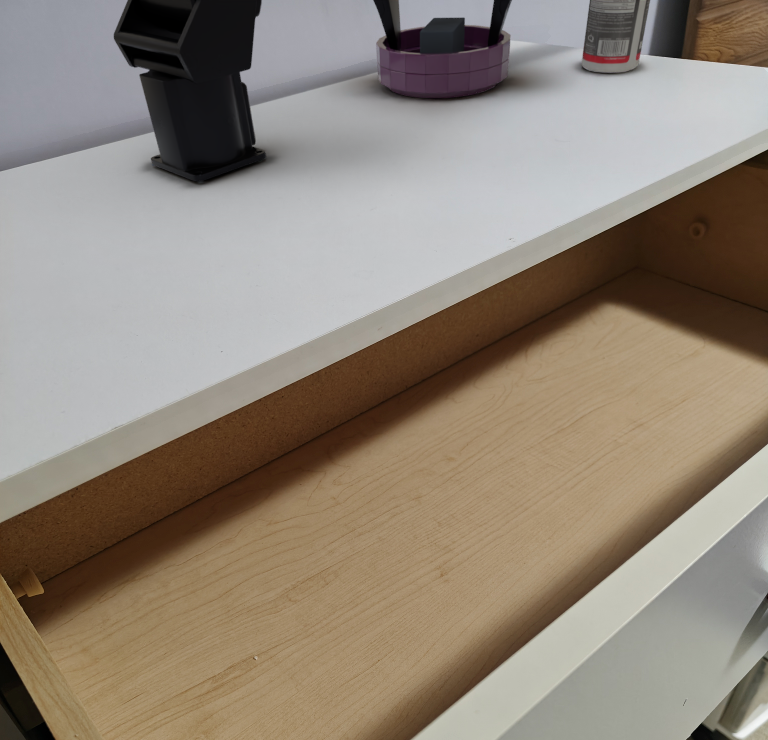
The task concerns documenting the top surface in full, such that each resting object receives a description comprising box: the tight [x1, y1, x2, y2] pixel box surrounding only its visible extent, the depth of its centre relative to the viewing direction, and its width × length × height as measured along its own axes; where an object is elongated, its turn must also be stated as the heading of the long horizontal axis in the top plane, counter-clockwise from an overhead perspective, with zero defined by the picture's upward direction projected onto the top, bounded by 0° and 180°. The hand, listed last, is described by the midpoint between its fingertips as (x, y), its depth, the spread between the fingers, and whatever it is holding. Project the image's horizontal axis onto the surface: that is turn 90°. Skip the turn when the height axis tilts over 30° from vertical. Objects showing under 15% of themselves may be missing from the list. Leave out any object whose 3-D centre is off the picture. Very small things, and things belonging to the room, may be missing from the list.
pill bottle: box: [581, 0, 651, 74], centre depth 62 cm, size 5×5×10 cm
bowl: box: [375, 24, 511, 99], centre depth 63 cm, size 12×12×4 cm
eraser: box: [420, 17, 466, 54], centre depth 63 cm, size 6×3×4 cm, turn 166°
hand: (442, 59), depth 63 cm, fingers open, 8 cm apart
